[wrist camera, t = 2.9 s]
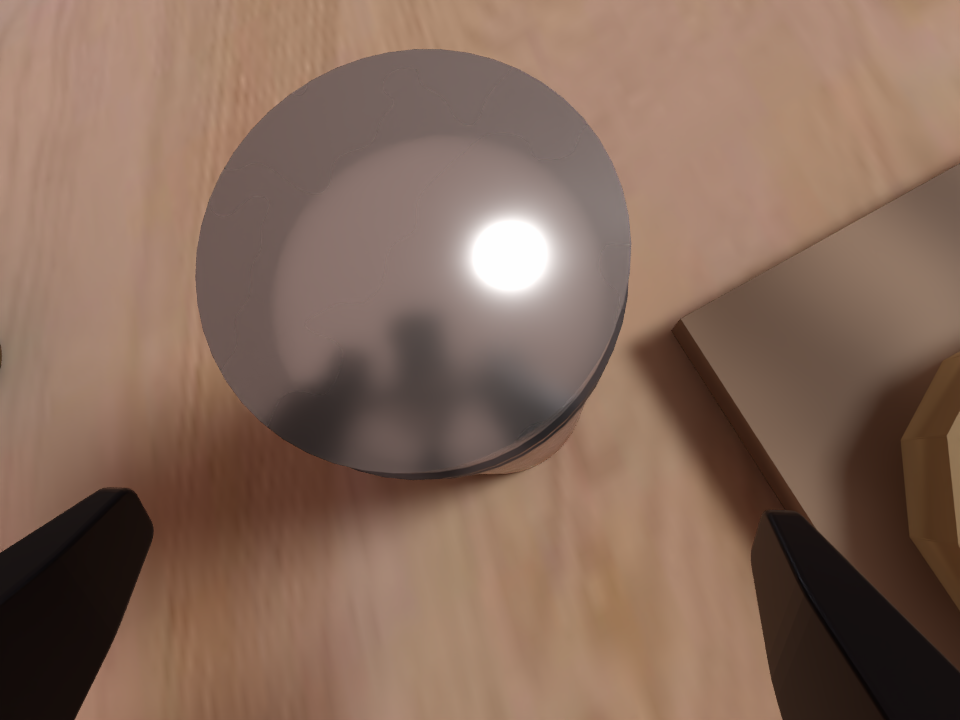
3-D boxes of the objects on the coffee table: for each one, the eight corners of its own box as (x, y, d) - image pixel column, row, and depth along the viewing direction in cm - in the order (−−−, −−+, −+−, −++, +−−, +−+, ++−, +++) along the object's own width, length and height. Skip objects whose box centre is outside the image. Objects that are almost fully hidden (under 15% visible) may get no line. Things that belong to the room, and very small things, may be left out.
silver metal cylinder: (464, 508, 19) (300, 569, 7) (387, 358, 20) (126, 179, 8) (619, 423, 19) (733, 329, 7) (532, 276, 20) (494, -31, 8)
